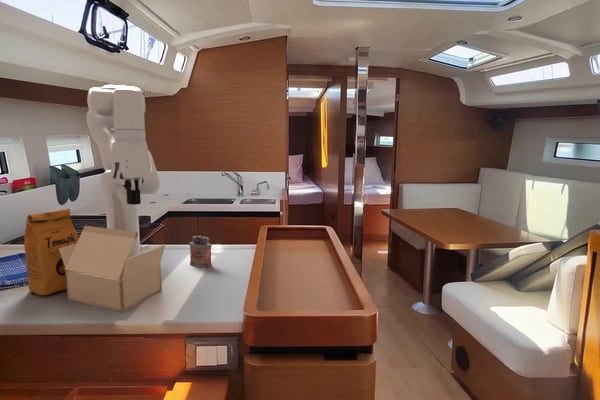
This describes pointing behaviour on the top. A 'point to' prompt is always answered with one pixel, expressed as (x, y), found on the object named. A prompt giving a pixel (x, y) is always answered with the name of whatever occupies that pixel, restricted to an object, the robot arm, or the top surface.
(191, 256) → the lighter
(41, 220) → the coffee package
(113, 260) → the lid flap
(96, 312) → the top surface
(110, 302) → the carton
